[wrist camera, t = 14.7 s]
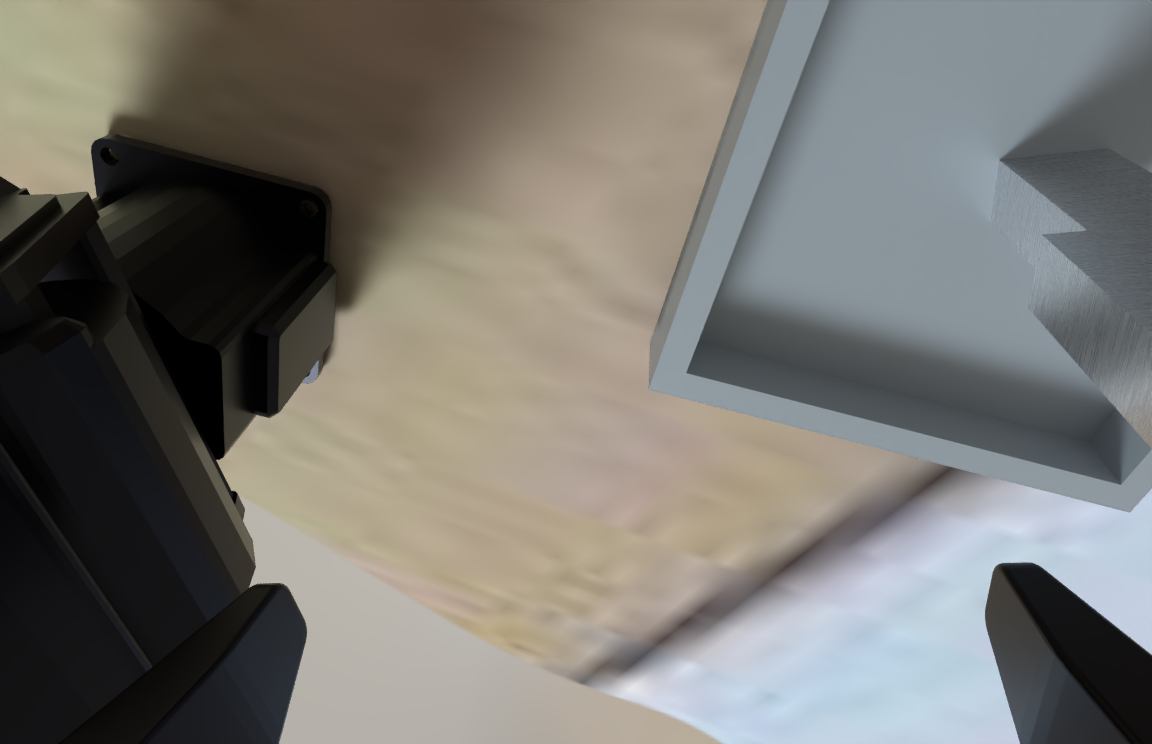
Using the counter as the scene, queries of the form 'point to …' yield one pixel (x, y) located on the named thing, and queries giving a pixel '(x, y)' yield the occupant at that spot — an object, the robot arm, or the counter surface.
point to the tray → (907, 234)
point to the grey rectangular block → (1088, 264)
